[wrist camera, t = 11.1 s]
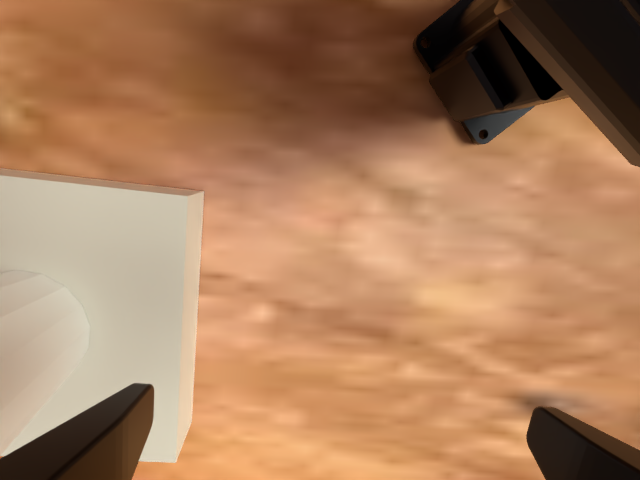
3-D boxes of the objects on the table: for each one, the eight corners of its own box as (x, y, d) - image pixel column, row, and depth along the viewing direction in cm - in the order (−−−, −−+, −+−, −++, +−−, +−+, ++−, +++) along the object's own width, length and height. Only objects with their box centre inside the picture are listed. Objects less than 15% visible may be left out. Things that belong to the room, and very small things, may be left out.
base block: (-90, 157, 17) (-169, 156, 14) (204, 191, 18) (187, 196, 16) (-62, 409, 20) (-122, 451, 17) (191, 421, 21) (175, 462, 18)
